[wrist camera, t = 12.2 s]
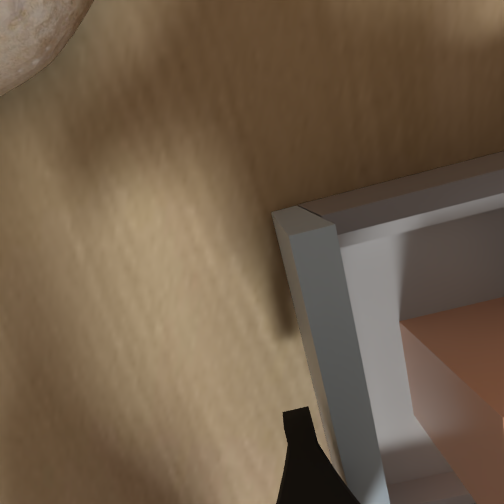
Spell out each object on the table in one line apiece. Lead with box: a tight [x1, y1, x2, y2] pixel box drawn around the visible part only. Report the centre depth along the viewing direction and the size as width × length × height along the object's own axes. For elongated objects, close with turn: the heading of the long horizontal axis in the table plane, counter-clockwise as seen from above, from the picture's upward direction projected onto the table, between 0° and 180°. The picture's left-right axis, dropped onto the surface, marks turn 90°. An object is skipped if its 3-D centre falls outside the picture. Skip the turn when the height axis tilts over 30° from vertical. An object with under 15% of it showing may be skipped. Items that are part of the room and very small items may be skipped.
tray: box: [271, 193, 504, 504], centre depth 10 cm, size 12×15×5 cm
